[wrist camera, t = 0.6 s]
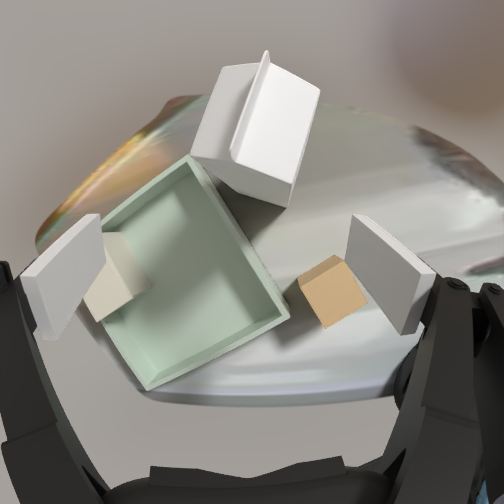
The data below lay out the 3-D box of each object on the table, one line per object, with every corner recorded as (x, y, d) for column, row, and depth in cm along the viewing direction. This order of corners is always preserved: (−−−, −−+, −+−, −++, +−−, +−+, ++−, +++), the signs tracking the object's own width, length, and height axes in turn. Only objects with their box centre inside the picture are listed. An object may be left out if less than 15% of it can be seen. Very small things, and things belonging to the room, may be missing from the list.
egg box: (155, 287, 36) (130, 299, 29) (124, 308, 37) (96, 322, 30) (122, 228, 36) (91, 229, 29) (93, 251, 37) (61, 256, 30)
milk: (237, 193, 35) (164, 142, 13) (253, 144, 34) (207, 37, 12) (288, 208, 34) (293, 176, 13) (303, 159, 34) (327, 61, 12)
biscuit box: (354, 290, 34) (367, 302, 29) (318, 312, 35) (324, 329, 29) (333, 254, 34) (344, 259, 28) (297, 277, 35) (299, 287, 29)
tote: (289, 306, 35) (290, 317, 31) (159, 376, 38) (146, 391, 33) (199, 162, 35) (188, 153, 31) (84, 250, 38) (64, 253, 33)
